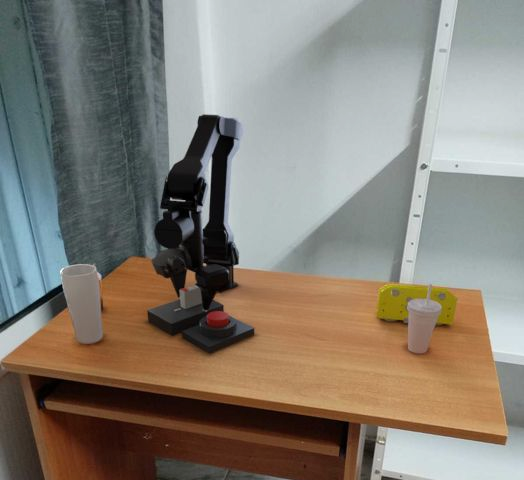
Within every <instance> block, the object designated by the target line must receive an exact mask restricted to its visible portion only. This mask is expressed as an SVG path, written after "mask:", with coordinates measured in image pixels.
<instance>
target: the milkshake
mask: <svg viewBox="0 0 524 480" xmlns="http://www.w3.org/2000/svg"><path fill="white" fill-rule="evenodd" d="M93 266H95V267H96V263H93ZM97 274H98V279H99V286H100V301H101V313H102V312H103V311H104V299H103V287H102V286H103V282H102V281H103V280H102V274H101V273H99V272H98V271H97Z"/></svg>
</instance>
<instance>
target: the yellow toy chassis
mask: <svg viewBox="0 0 524 480" xmlns="http://www.w3.org/2000/svg"><path fill="white" fill-rule="evenodd" d="M428 288H429V286H423V285H421V286H420V285H419V286H418V285H408V284H397V283H387V284H386V285H383V286H382V287H380V288H379V289H378V296H377V306H376V310H377V313H376V319H384V320H385V321H387V322H397V321H403V323H404V324H408V320H409V310H408V309H407V306H408V302H409V301H411V300H413V299H427V294H428ZM430 300H433V301H435V302H437V303H439V304H440V305H441V306H442V309H441V313H440V314H439V315H438V319H437V321H436V324H435V326H442V325H453V324H454V323H453V322H454V318H455V314H456V308H457V305H458V304H457V303H458V297H457V296H456V295H454V293H452V292H451V291H450V290H449V289H448V288H446V287H436V286H435V287H434V286H432V289H431V295H430Z"/></svg>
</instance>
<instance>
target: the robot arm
mask: <svg viewBox="0 0 524 480" xmlns="http://www.w3.org/2000/svg"><path fill="white" fill-rule="evenodd" d="M196 124H197V127H196V129H195V131H194V133H193V136H192V138H191V141H190V143H189V145H188V147H187V149H186V152H185V155H184V157H183V158H182V159H181V160H179V161H177V162H175V163H174V164H173V165H172V167H171V169H170V170H169V172H168V173H167V175H166V176H165V180H164V184H163V189H162V193H161V200H160V205H159V209H160V210H165V211H163V212H162V219H160V220H159V221H157V223H156V224H155V227H154V229H153V234H154V238H155V240H156V242H157V243H158V244H159V245H160V246H161V247H163V248H165V249H163V250H159V251H157V252H156V254H155V255H154V257H153V258H151V260H150V262H151V264H152V266H153V268H154V271H155V273H156V275H160V276H162V277H163V278H164V279H170V281H171V283H172V286H173V288H174V291H175V293H176V296H177V297H178V298H179V299H180V290H181V288H186V282H187V281H186V280H187V273H188V271H189V272H193V273H194V279H195V282H196V283H195V284H194V285H196V286H197V287H199V288H200V290H201V297H202V305H203V309H204V310H208V309H209V307H210V305H211V303H212V301H213V300H214V299H215V296H216V294H217V293H220V292H224V291H226V290H227V291H228V290H229V289H232V288H235V287H237V286H238V285H239V284H238V282H235V281H234V279H235V276H234V274H235V273H234V267H235V266H239V264H240V251H239V249H238V247H237V245H236V243H235V241H234V240H235V235H234V232H233V231H232V229H231V227H230V225H229V209H230V194H231V179H232V178H231V177H232V162H233V159H234V157H235V155H237V152H238V151H239V149H240V144H241V140H242V138H243V136H244V135H243V134H244V128H243V124H242V122H240V121H239V120H238V118H237V117H229V116H227V117H225V116H221V115H220V114H207V113H206V114H205V113H203V114H201V115H199V116H198V118H197V123H196ZM210 161H211V162H210ZM209 164H211V165H210V179H209V180H210V181H209V184H208V179H207V176H206V172H207V168H208V166H209ZM208 190H209V197H208V199H209V200H208V220H207V223H206V224H205V226H204V227H203V209H202V208H203V207H204V206H205V203H206V198H207V195H208ZM171 199H172V200H171ZM204 264H205V265H204Z"/></svg>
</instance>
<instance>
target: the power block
mask: <svg viewBox="0 0 524 480" xmlns="http://www.w3.org/2000/svg"><path fill="white" fill-rule="evenodd" d="M254 336H255V327H253V326H251V325H249V324H247V323H245V322H243V321H241V320H239V319H237V318H235V317H233V316H231V315H229V324H228V325H226V326H224V327H211V326H209V325H208V324H207V316H206V317H203V318H202V319H201V320H200V324H199V325H197V326H194V327H191V328H189V329H186V330H183V331H182V333H181V339H182V340H184V341H186V342H187V343H189V344H191V345H192V346H194V347H196V348H197V349H199V350H202V352H205V353H206V354H208V355H211V354H213V353H216V352H218V351H220V350H223V349H225V348H228V347H230V346H232V345H235V344H237V343H239V342H242V341H244V340H246V339H249V338H251V337H254Z"/></svg>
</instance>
